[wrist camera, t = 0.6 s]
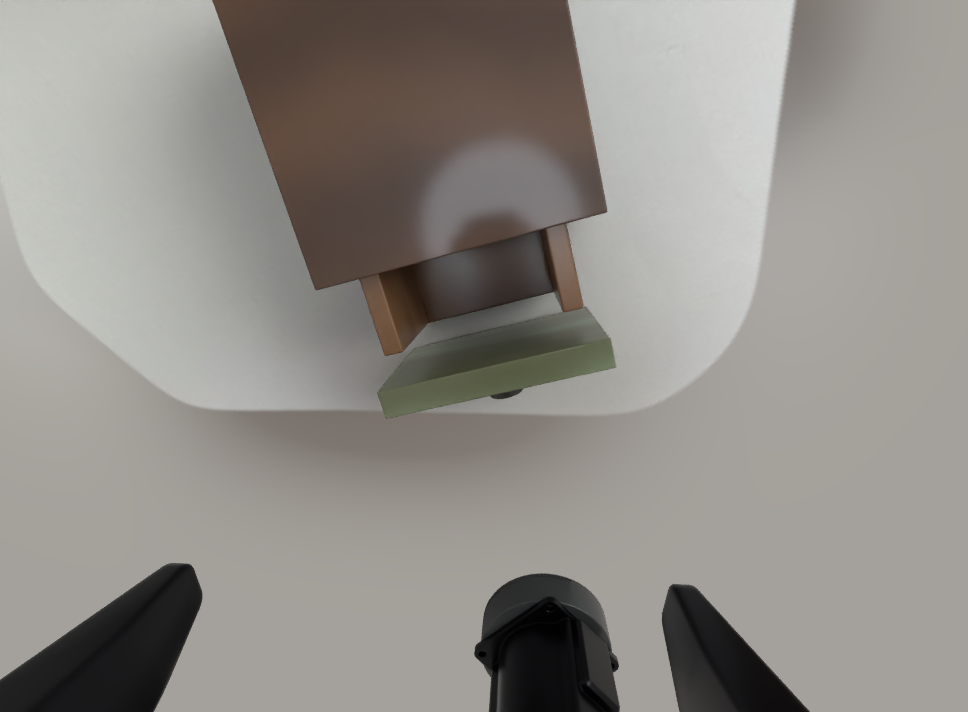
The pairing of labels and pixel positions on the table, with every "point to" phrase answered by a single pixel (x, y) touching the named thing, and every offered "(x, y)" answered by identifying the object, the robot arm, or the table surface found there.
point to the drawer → (494, 353)
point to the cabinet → (416, 124)
